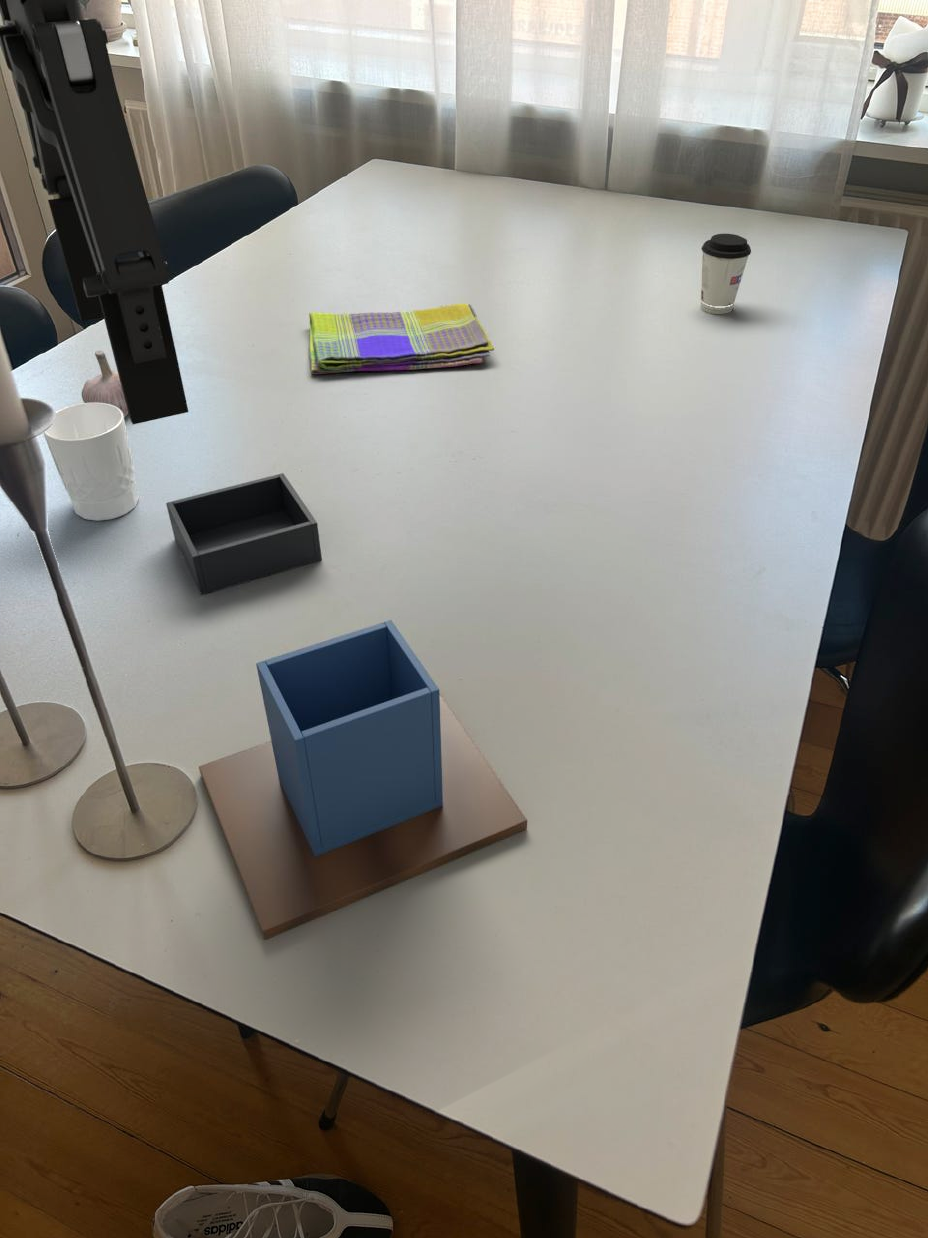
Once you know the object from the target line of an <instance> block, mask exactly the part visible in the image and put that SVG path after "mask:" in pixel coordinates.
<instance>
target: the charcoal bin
mask: <svg viewBox="0 0 928 1238" xmlns="http://www.w3.org/2000/svg"><path fill="white" fill-rule="evenodd" d="M165 505H166V509H167V514H168V518H169V521H170V526H171V529H172V534H173V537H174V541H175V543H176V545H177V547H178V549H179V551H180V554H181V555H182V557H183V560H184V562H185V564H186V566H187V568H188V570H189V572H190V575H191V577H192V580H193V581H194V583H195V585H196V588H197V590H198V591H199V593H200V595H201V596H202V595H206V594H209V593H213V592H217V591H219V590H224V589H226V588H231V587H233V586H237V585H241V584H244V583H248V582H251V581H254V580H258V579H261V578H264V577H268V576H271V575H275V574H278V573H283V572H286V571H289V570H291V569H296V568H299V567H302V566H305V565H310V564H313V563H316V562H320V561H322V560H323V557H322V551H321V543H320V542H321V541H320V533H319V525H318V521H317V520H316V519H315V518H314V516H313V515H312V513H311V512H310V510H309V509H308V507H307V506H306V504H305V503H304V501H303V500H302V498H301V497H300V495H299V494H298V492H297V491H296V489H295V488H294V487H293V485H292V483H291V482H290V481H289V479H288V478H287V476H286V475H285V473H284V472H282V473H278V474H274V475H270V476H266V477H262V478H259V479H255V480H250V481H246V482H243V483H239V484H235V485H231V486H227V487H224V488H218V489H215V490H211V491H207V492H204V493H203V492H202V493H200V494H195V495H192V496H188V497H184V498H180V499H176V500H172V501H168V502H166V504H165Z"/></svg>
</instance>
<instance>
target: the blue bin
mask: <svg viewBox="0 0 928 1238" xmlns="http://www.w3.org/2000/svg"><path fill="white" fill-rule="evenodd" d="M255 665H256V670H257V676H258V681H259V686H260V690H261V695H262V700H263V707H264V712H265V715H266V721H267V726H268V729H269V730H268V731H269V736H270V741H271V742H272V747H273V752H274V757H275V762H276V767H277V772H278V777H279V780H280V782H281V785H282V787H283V789H284V791H285V793H286V795H287V797H288V800H289V802H290V804H291V806H292V808H293V810H294V813H295V815H296V817H297V819H298V821H299V823H300V826H301V828H302V830H303V832H304V834H305V836H306V839H307V841H308V843H309V845H310V847H311V849H312V851H313V854H314V856H315V857H316V856H319V855H321V854H323V853H326V852H328V851H331V850H333V849H336V848H338V847H341V846H343V845H346V844H348V843H351V842H353V841H356V840H358V839H361V838H363V837H366V836H368V835H371V834H373V833H376V832H378V831H381V830H383V829H386V828H388V827H391V826H393V825H396V824H398V823H401V822H403V821H406V820H408V819H411V818H413V817H416V816H418V815H421V814H423V813H426V812H428V811H431V810H433V809H436V808H438V807H441V806H443V791H442V759H441V726H440V694H441V693H440V688H439V687H438V685H437V684H436V682H435V681H434V680H433V678H432V677H431V675H430V674H429V672H428V671H427V669H426V667H424V665H423V663H422V662H421V661H420V659H419V658H418V657H417V655H416V654H415V652H414V651H413V650H412V648H411V647H410V645H409V644H408V642H407V640H406V639H405V638H404V636H403V635H402V633H401V632H400V631H399V629H398V628H397V626H396V625H395V623H394V622H393V620H392V619H389V620H386V621H383V622H380V623H376V624H374V625H373V624H372V625H371V626H368V627H364V628H361V629H358V630H354V631H352V632H349V633H346V634H343V635H339V636H336V637H333V638H329V639H327V640H324V641H321V642H317V643H314V644H311V645H307V646H305V647H301V648H298V649H295V650H293V651H289V652H287V653H284V654H283V653H282V654H279V655H277V656H273V657H271V658H268V659H265V660H262V661H259V662H256V663H255ZM439 693H440V694H439Z"/></svg>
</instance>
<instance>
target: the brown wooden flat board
mask: <svg viewBox="0 0 928 1238" xmlns="http://www.w3.org/2000/svg"><path fill="white" fill-rule="evenodd" d="M439 694H440V726H441V759H442V791H443V806H441V807H438V808H436V809H433V810H431V811H428V812H426V813H423V814H421V815H418V816H416V817H413V818H411V819H408V820H406V821H403V822H401V823H398V824H396V825H393V826H391V827H388V828H386V829H383V830H381V831H378V832H376V833H373V834H371V835H368V836H366V837H363V838H361V839H358V840H356V841H353V842H351V843H348V844H346V845H343V846H341V847H338V848H336V849H333V850H331V851H328V852H326V853H323V854H321V855H319V856H316V857H315V856H314V854H313V851H312V849H311V847H310V845H309V843H308V841H307V839H306V836H305V834H304V832H303V830H302V828H301V826H300V823H299V821H298V819H297V817H296V815H295V813H294V810H293V808H292V806H291V804H290V802H289V800H288V797H287V795H286V793H285V791H284V789H283V787H282V785H281V782H280V780H279V777H278V772H277V767H276V762H275V757H274V752H273V747H272V742H271V740H270V741H267V742H264V743H262V744H258V745H256V746H253V747H250V748H248V749H244V750H241V751H238V752H236V753H233V754H230V755H227V756H224V757H221V758H218V759H216V760H213V761H210V762H206V763H204V764H202V765H199V766H198V769H199V773H200V777H201V779H202V781H203V782H202V783H203V784H204V787H205V790H206V792H207V795H208V797H209V800H210V802H211V805H212V807H213V810H214V813H215V816H216V818H217V821H218V823H219V825H220V829H221V831H222V834H223V836H224V839H225V841H226V845H227V846H228V849H229V852H230V854H231V857H232V860H233V862H234V865H235V866H236V870H237V872H238V875H239V877H240V880H241V883H242V886H243V888H244V891H245V893H246V896H247V899H248V901H249V904H250V906H251V909H252V911H253V914H254V917H255V919H256V922H257V924H258V927H259V930H260V933H261V935H262V937H263V940H267V939H270V938H272V937H274V936H277V935H279V934H282V933H284V932H286V931H289V930H292V929H293V928H296V927H298V926H301V925H303V924H305V923H308V922H310V921H313V920H315V919H317V918H319V917H322V916H324V915H327V914H329V913H331V912H334V911H337V910H339V909H340V908H343V907H346V906H348V905H350V904H353V903H356V902H357V901H360V900H362V899H364V898H367V897H369V896H371V895H374V894H376V893H378V892H381V891H383V890H385V889H388V888H390V887H393V886H396V885H398V884H400V883H402V882H405V881H407V880H410V879H412V878H414V877H416V876H419V875H421V874H423V873H424V874H425V873H426V872H428V871H431V870H433V869H435V868H437V867H440V866H442V865H445V864H447V863H449V862H452V861H454V860H457V859H459V858H461V857H464V856H466V855H468V854H470V853H473V852H475V851H478V850H481V849H482V848H485V847H487V846H489V845H491V844H494V843H497V842H499V841H501V840H504V839H506V838H509V837H511V836H513V835H515V834H519V833H520V832H523V831H525V830H527V829H528V819H527V817H526V816H525V815H524V814H523V812H522V810H521V809H520V807H519V806H518V805H517V803H516V802H515V800H514V799H513V797H512V796H511V794H510V793H509V792H508V790H507V789H506V787H505V785H504V784H503V783H502V782H501V780H500V778H499V777H498V776H497V774H496V772H495V771H494V770H493V768H492V767H491V765H490V764H489V763H488V761H487V759H486V758H485V757H484V755H483V754H482V753H481V751H480V750H479V748H478V746H477V745H476V743H475V742H474V741H473V739H472V737H470V735H469V733H468V732H467V730H466V729H465V728H464V727H463V725H462V723H461V722H460V720H459V719H458V717H457V716H456V715H455V713H454V711H453V710H452V709H451V707H450V706H449V705H448V703H447V701H446V700H445V698H443V697H444V696H443V695H442V694H441V693H440V692H439Z"/></svg>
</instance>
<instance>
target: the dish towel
mask: <svg viewBox="0 0 928 1238" xmlns="http://www.w3.org/2000/svg"><path fill="white" fill-rule="evenodd" d="M308 315H309V356H310V357H309V359H310V373H311V374H316V375H317V374H318V375H321V374H335V373H349V372H350V373H351V372H368V371H370V372H371V371H372V372H374V371H375V372H376V371H377V372H378V371H381V372H383V371H404V370H406V371H407V370H424V369H438V368H450V367H451V368H453V367H460V366H464V365H465V366H466V365H471V364H481V363H483V357H490V356H491V352H493V351H495V347H494V346H493V343H492V341H491V340H490V339H489V337H488V335H487V333H486V332H485V330H484V328H483V326H482V324H481V322H480V321H479V319H478V315H477V313H476V310H475V308H474V307H473V306H472V304H469V303H466V302H461V303H457V304H456V303H455V304H450V305H445V306H440V307H439V306H438V307H432V308H425V309H413V310H409V311H394V312H393V311H392V312H359V313H341V314H338V313H331V312H328V313H327V312H326V313H325V312H316V311H315V312H314V311H310V312H309V314H308Z"/></svg>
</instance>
